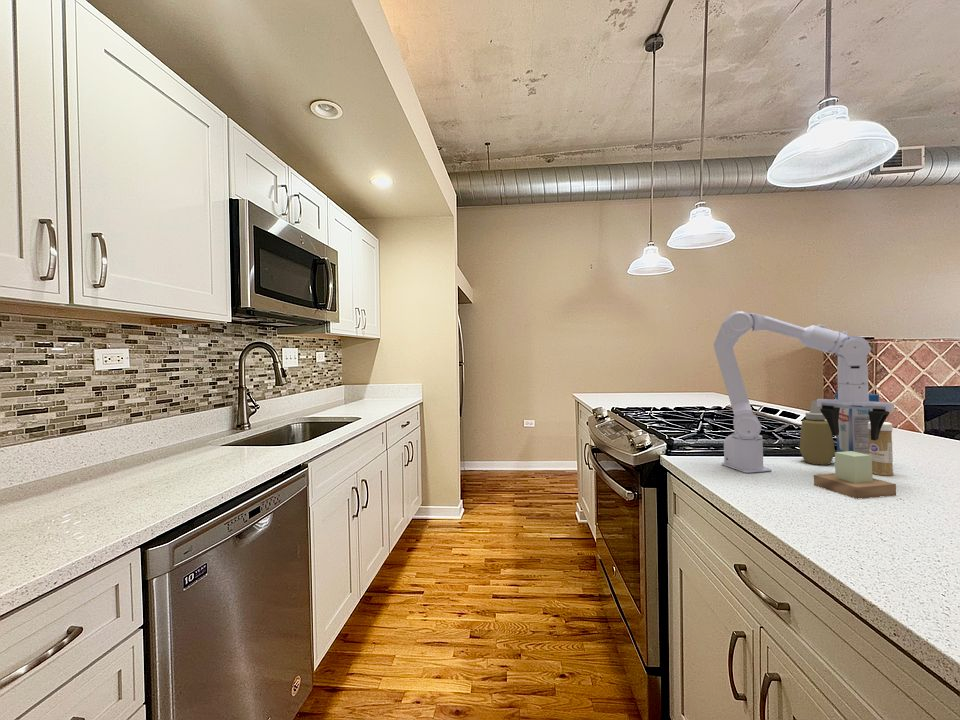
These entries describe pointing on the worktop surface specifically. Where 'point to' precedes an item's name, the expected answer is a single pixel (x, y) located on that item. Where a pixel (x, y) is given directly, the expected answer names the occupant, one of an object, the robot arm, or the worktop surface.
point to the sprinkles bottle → (882, 450)
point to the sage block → (853, 466)
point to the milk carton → (854, 428)
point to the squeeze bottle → (816, 438)
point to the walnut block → (855, 486)
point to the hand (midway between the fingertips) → (854, 437)
